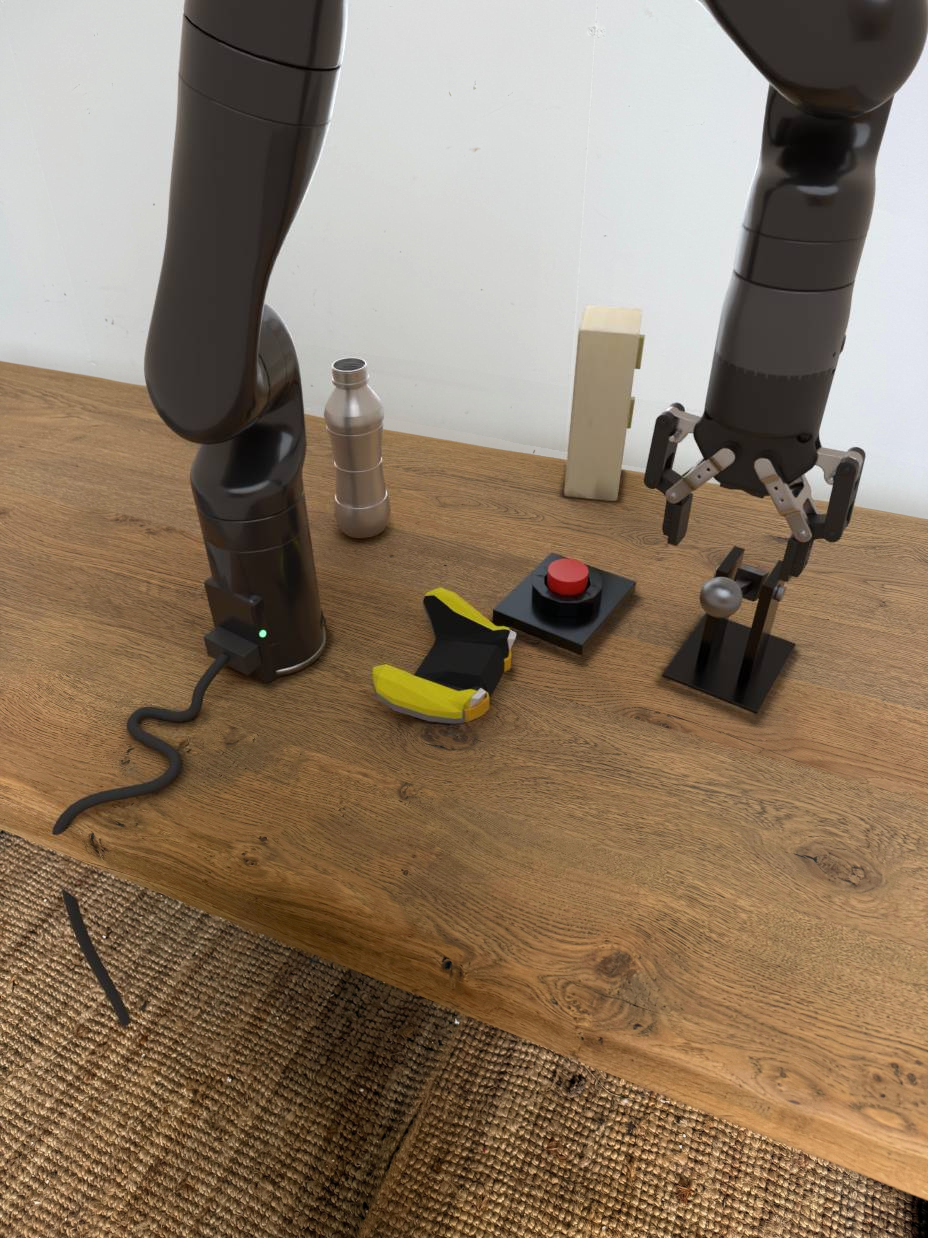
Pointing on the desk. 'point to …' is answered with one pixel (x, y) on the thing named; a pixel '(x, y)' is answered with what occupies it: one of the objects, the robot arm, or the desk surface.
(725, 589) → the switch lever
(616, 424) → the toy refrigerator
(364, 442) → the silver metal bottle
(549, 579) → the button
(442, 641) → the gaming controller
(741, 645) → the switch bracket
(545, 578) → the control box
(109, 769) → the desk surface
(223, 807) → the desk surface
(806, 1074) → the desk surface
